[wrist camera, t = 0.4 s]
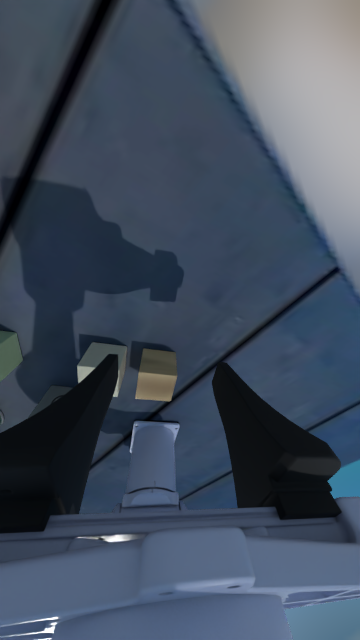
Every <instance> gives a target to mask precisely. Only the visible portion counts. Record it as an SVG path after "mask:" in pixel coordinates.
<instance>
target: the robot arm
mask: <svg viewBox="0 0 360 640" xmlns="http://www.w3.org/2000/svg"><path fill="white" fill-rule="evenodd" d="M117 380H118V354H108V355H107V356H106V357H105V358H104V359H103V360H102V361H101V363H100V364H99V365H98V366H97V367H96V368H95V369H94V370H93V371H92V372H91V373H89V374H88V375H87V376H86V377H85V378H84V379H83V380H82V381H81V382H79V383H78V384H77V385H76V386H75V387H74V388H72V389H71V390H70V391H69V392H67V393H66V394H65V395H63V396H62V397H61V398H59V399H58V400H56V401H55V402H53V403H52V404H50V405H49V406H47V407H46V408H44V409H43V410H41V411H40V412H38V413H36V414H35V415H33V416H31V417H30V418H28V419H26V420H24V421H23V422H21V423H19V424H17V425H15V426H13V427H12V428H10V429H8V430H6V431H4V432H2V433H0V640H42V639H51V640H293V637H292V634H291V631H290V627H289V624H288V621H287V618H286V614H285V611H284V609H290V608H296V607H302V606H309V605H316V604H322V603H329V602H336V601H342V600H349V599H356V598H360V497H340V498H336V499H334V498H333V497H332V495H331V493H330V491H332V488H331V486H330V485H329V483H328V482H327V481H328V480H329V479H330V478H331V477H332V476H333V475H334V474H335V473H337V471H338V470H339V469H340V467H341V462H340V460H339V459H338V457H337V456H336V455H335V453H334V452H333V451H332V449H331V448H330V447H329V445H328V444H327V443H326V442H324V441H322V440H321V439H319V438H317V437H315V436H314V435H312V434H310V433H309V432H307V431H305V430H304V429H302V428H301V427H299V426H297V425H296V424H294V423H293V422H291V421H290V420H288V419H287V418H286V417H284V416H283V415H281V414H280V413H279V412H277V411H276V410H275V409H274V408H272V407H271V406H270V405H269V404H267V403H266V402H265V401H264V400H263V399H261V398H260V397H259V396H258V395H257V394H256V393H255V392H254V391H253V390H252V389H251V388H250V387H249V386H248V385H247V384H246V383H245V382H244V381H243V380H242V379H241V378H240V377H239V376H238V375H237V374H236V373H235V371H234V370H233V369H232V368H231V367H230V366H229V365H228V364H227V363H225V362H218V365H217V368H216V371H215V374H214V377H213V380H212V386H213V392H214V396H215V400H216V403H217V406H218V410H219V413H220V416H221V419H222V423H223V426H224V430H225V434H226V439H227V443H228V448H229V454H230V459H231V465H232V471H233V477H234V483H235V491H236V498H237V505H238V508H230V509H203V510H187V507H186V506H185V505H184V502H183V501H179V497H178V492H176V479H175V452H174V442H175V439H176V436H177V433H178V430H179V427H180V426H179V424H178V423H167V422H151V421H135V422H134V425H133V432H132V439H131V446H130V452H131V453H132V454H131V460H130V467H129V473H128V480H127V487H126V493H125V494H124V495H123V501H122V503H118V504H117V505H116V507H115V508H114V509H113V510H112V513H98V514H79V511H80V507H81V502H82V498H83V494H84V490H85V486H86V482H87V478H88V474H89V470H90V466H91V462H92V458H93V455H94V451H95V447H96V444H97V440H98V436H99V433H100V429H101V426H102V423H103V421H104V418H105V415H106V413H107V410H108V408H109V405H110V402H111V400H112V397H113V394H114V392H115V388H116V384H117Z"/></svg>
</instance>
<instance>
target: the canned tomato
mask: <svg viewBox="0 0 360 640" xmlns="http://www.w3.org/2000/svg"><path fill="white" fill-rule="evenodd" d="M3 421H4V416H3V413H2V412H1V411H0V426H1V424H2V423H3Z"/></svg>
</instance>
